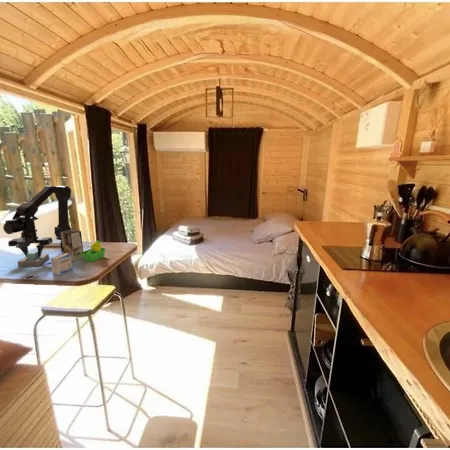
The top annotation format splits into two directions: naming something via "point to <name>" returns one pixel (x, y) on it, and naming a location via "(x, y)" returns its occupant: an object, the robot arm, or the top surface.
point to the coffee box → (72, 243)
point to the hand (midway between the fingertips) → (33, 256)
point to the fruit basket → (94, 252)
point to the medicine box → (61, 263)
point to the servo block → (32, 255)
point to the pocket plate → (33, 261)
